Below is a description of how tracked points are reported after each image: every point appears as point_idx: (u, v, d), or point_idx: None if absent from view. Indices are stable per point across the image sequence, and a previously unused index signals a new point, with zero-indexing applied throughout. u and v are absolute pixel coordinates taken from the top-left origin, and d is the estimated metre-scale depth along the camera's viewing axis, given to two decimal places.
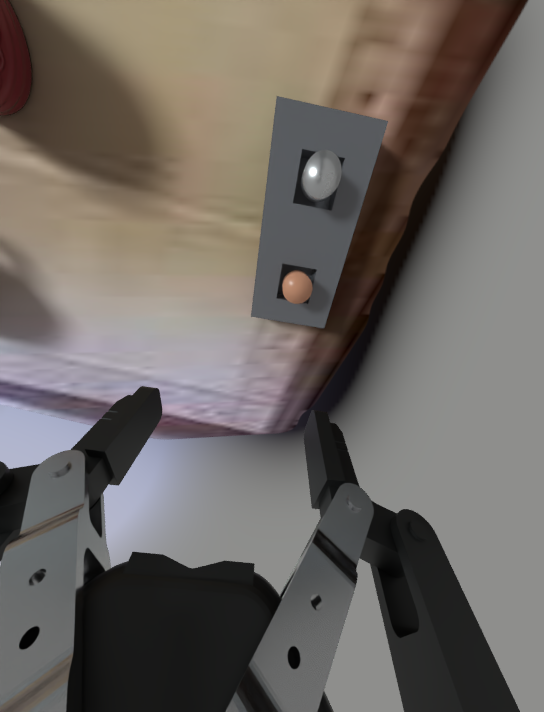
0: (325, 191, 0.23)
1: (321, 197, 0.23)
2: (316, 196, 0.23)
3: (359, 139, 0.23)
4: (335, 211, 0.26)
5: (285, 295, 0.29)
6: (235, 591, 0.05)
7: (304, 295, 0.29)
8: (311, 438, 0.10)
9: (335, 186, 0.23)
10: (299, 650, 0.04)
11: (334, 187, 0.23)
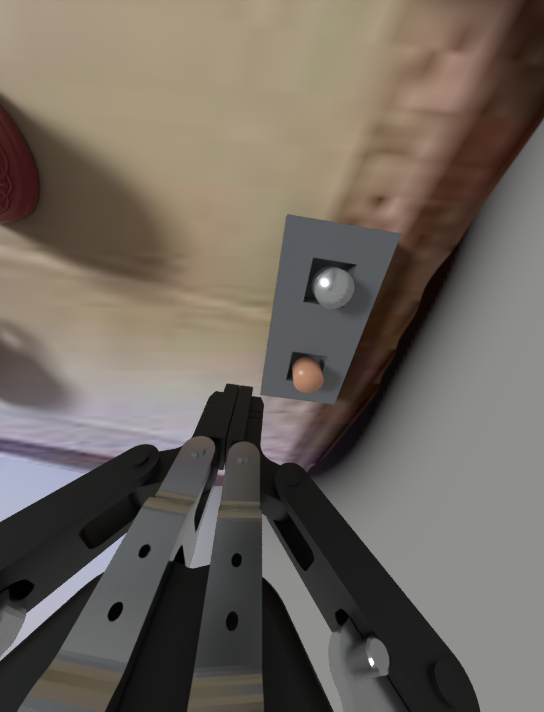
0: (338, 303, 0.23)
1: (333, 307, 0.23)
2: (328, 307, 0.23)
3: (372, 249, 0.23)
4: (346, 308, 0.26)
5: (296, 386, 0.28)
6: None
7: (315, 386, 0.28)
8: None
9: (348, 299, 0.22)
10: (234, 610, 0.04)
11: (346, 299, 0.22)
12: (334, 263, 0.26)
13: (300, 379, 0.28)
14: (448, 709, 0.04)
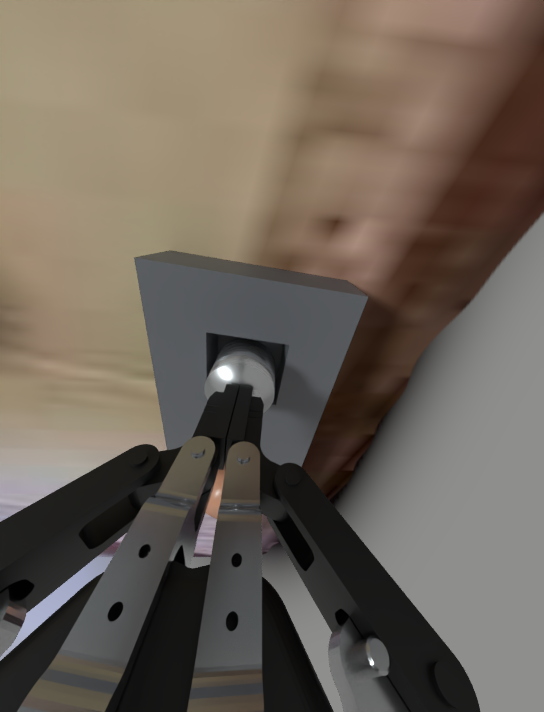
0: None
1: None
2: None
3: (314, 321, 0.12)
4: (283, 404, 0.15)
5: (209, 513, 0.18)
6: None
7: None
8: None
9: (266, 406, 0.12)
10: (234, 610, 0.04)
11: (264, 407, 0.12)
12: None
13: (213, 507, 0.17)
14: (448, 709, 0.04)
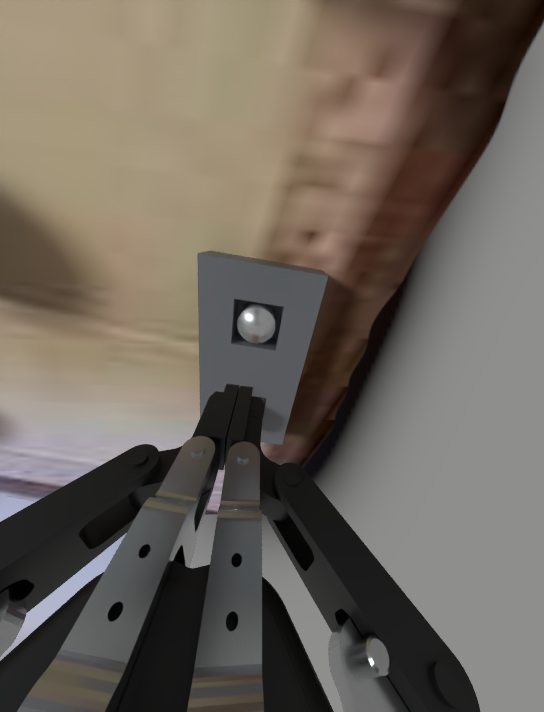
0: (261, 338, 0.23)
1: (258, 342, 0.23)
2: (252, 341, 0.23)
3: (298, 291, 0.20)
4: (280, 350, 0.24)
5: None
6: None
7: None
8: None
9: (271, 334, 0.22)
10: (234, 610, 0.04)
11: (269, 335, 0.22)
12: None
13: None
14: (448, 709, 0.04)
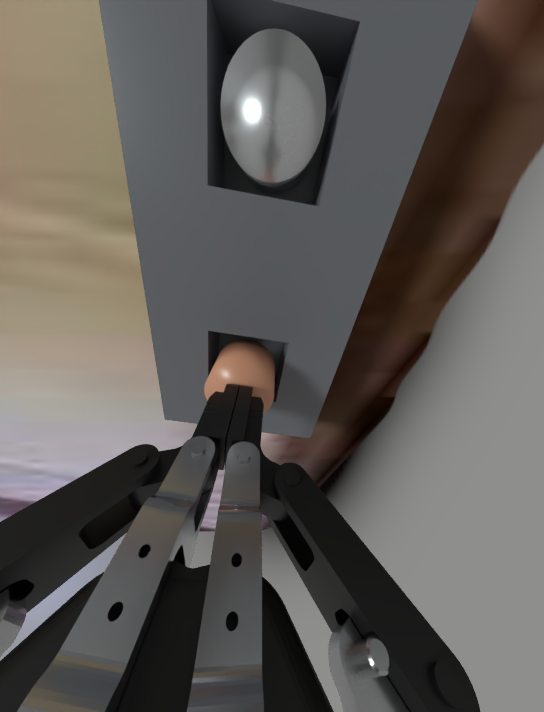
0: (286, 162, 0.09)
1: (276, 179, 0.09)
2: (262, 176, 0.09)
3: None
4: (329, 208, 0.10)
5: None
6: None
7: None
8: None
9: (311, 148, 0.08)
10: (234, 610, 0.04)
11: (307, 151, 0.09)
12: None
13: (220, 390, 0.12)
14: (448, 709, 0.04)
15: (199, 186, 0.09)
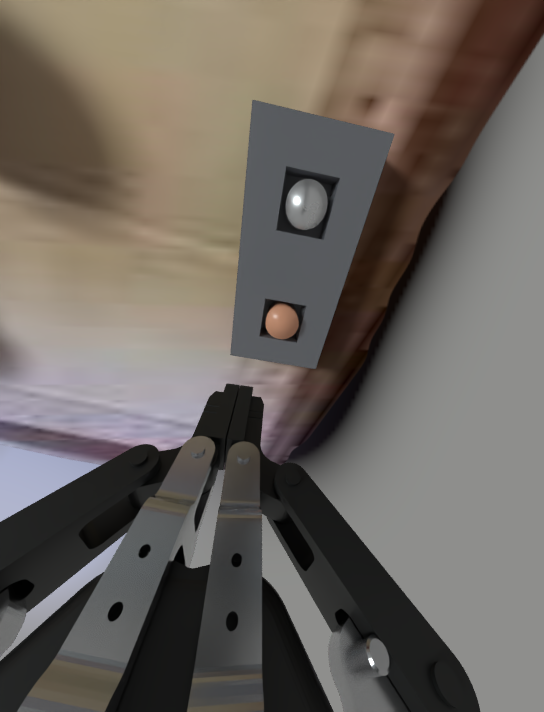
0: (310, 222, 0.21)
1: (305, 228, 0.21)
2: (300, 227, 0.21)
3: (358, 156, 0.18)
4: (328, 240, 0.22)
5: (268, 330, 0.26)
6: None
7: (290, 330, 0.26)
8: None
9: (321, 217, 0.21)
10: (234, 610, 0.04)
11: (319, 218, 0.21)
12: None
13: (273, 321, 0.25)
14: (448, 709, 0.04)
15: (272, 230, 0.21)
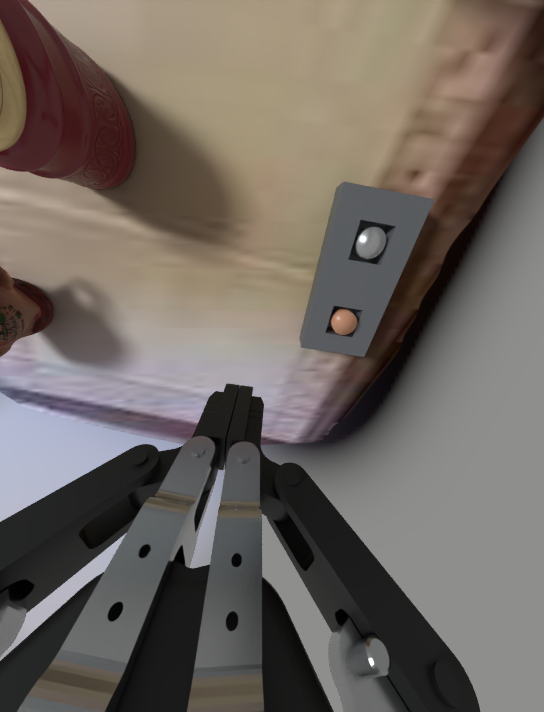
0: (372, 254, 0.30)
1: (369, 258, 0.31)
2: (365, 257, 0.31)
3: (409, 212, 0.28)
4: (383, 265, 0.31)
5: (334, 328, 0.36)
6: None
7: (350, 328, 0.35)
8: None
9: (380, 250, 0.30)
10: (234, 610, 0.04)
11: (379, 251, 0.30)
12: None
13: (338, 322, 0.35)
14: (448, 709, 0.04)
15: (345, 259, 0.31)
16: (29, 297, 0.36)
